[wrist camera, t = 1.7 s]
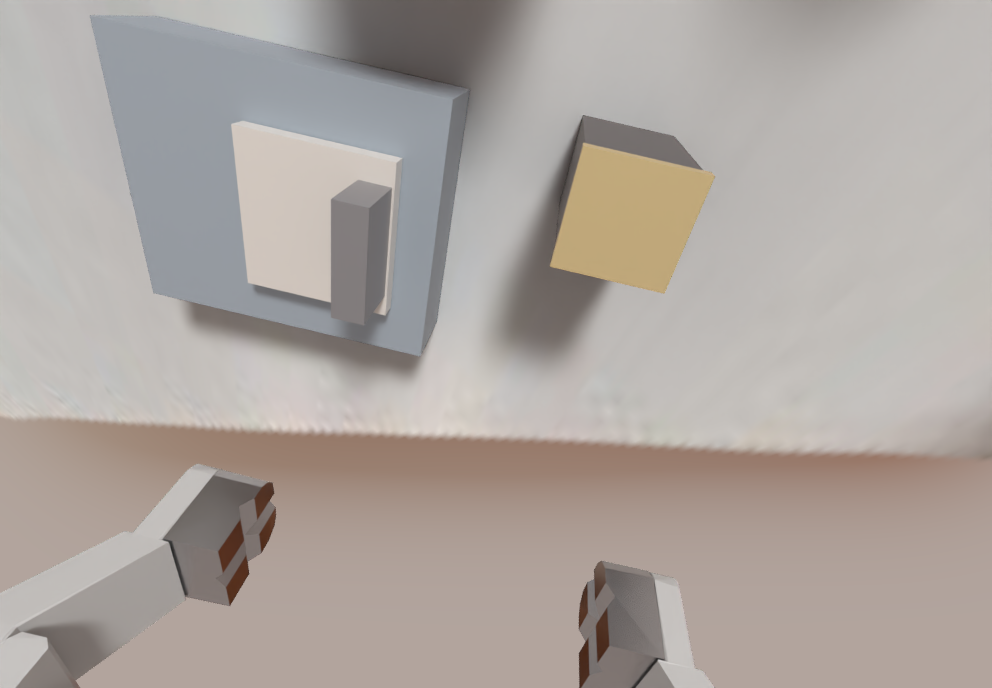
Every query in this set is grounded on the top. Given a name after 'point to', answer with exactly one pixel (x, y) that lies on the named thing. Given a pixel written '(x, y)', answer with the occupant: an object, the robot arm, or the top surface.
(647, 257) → the plug
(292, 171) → the panel
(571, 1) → the top surface
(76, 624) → the robot arm
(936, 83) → the top surface
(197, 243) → the socket block
